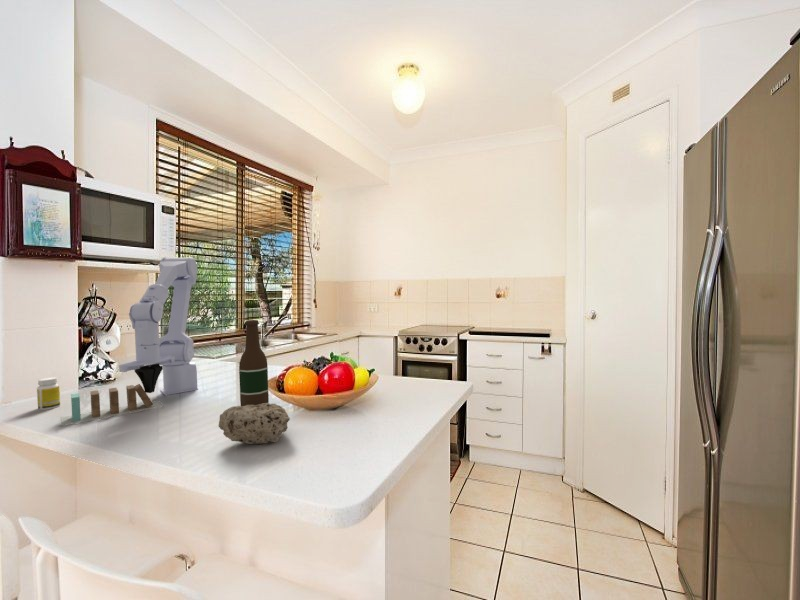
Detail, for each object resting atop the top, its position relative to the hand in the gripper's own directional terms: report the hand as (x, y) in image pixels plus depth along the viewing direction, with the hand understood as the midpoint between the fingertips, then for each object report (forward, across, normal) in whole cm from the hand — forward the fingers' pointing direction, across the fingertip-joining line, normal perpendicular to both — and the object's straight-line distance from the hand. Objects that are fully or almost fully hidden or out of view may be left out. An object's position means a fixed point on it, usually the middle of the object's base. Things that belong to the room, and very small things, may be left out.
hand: (149, 392), depth 112 cm
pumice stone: (+4, +8, +48) cm, 49 cm away
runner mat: (+4, +8, -4) cm, 9 cm away
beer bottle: (+4, -10, +30) cm, 32 cm away
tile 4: (+4, +11, -5) cm, 13 cm away
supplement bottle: (+4, +12, -26) cm, 29 cm away
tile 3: (+4, +8, -4) cm, 9 cm away
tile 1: (+3, 0, 0) cm, 3 cm away
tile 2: (+4, +4, -2) cm, 6 cm away
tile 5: (+4, +15, -7) cm, 17 cm away
